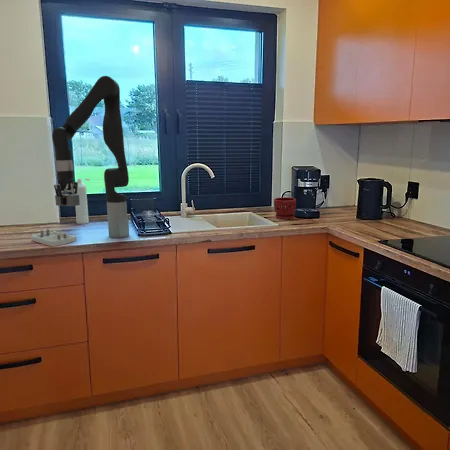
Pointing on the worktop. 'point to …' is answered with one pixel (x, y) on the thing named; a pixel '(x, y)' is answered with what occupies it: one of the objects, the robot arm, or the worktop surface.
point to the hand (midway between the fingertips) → (67, 204)
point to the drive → (68, 200)
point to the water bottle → (82, 203)
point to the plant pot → (280, 207)
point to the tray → (53, 238)
